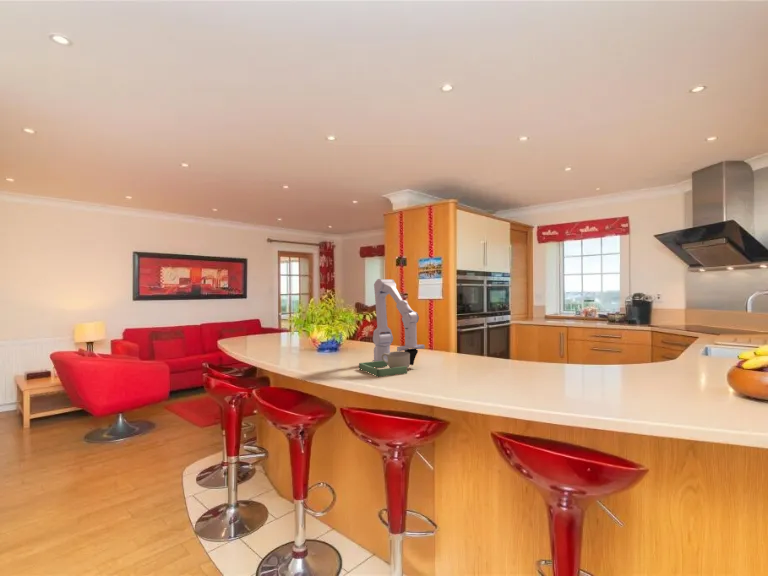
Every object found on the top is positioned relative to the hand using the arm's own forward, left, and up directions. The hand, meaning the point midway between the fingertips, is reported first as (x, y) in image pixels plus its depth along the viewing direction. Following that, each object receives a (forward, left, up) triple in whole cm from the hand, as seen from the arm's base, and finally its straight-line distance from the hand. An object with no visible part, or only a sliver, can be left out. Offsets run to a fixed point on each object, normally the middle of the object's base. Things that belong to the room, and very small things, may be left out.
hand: (411, 364), depth 186 cm
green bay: (0, -16, -1) cm, 16 cm away
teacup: (0, -9, -2) cm, 9 cm away
